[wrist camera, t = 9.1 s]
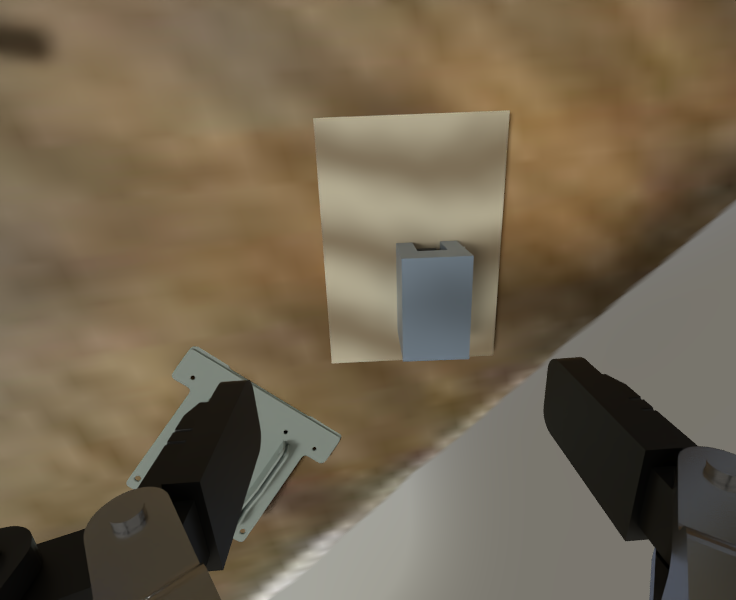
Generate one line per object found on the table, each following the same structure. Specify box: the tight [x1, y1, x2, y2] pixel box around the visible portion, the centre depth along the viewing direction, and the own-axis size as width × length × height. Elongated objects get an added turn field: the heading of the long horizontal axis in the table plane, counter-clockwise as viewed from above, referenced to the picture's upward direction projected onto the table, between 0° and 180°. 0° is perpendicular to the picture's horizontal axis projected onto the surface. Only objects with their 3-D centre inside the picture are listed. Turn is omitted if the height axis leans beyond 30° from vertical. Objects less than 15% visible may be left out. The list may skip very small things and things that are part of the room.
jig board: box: [313, 111, 510, 363], centre depth 29 cm, size 18×13×4 cm
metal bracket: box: [127, 347, 341, 542], centre depth 35 cm, size 14×6×15 cm
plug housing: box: [396, 241, 474, 361], centre depth 28 cm, size 7×4×5 cm, turn 2°
